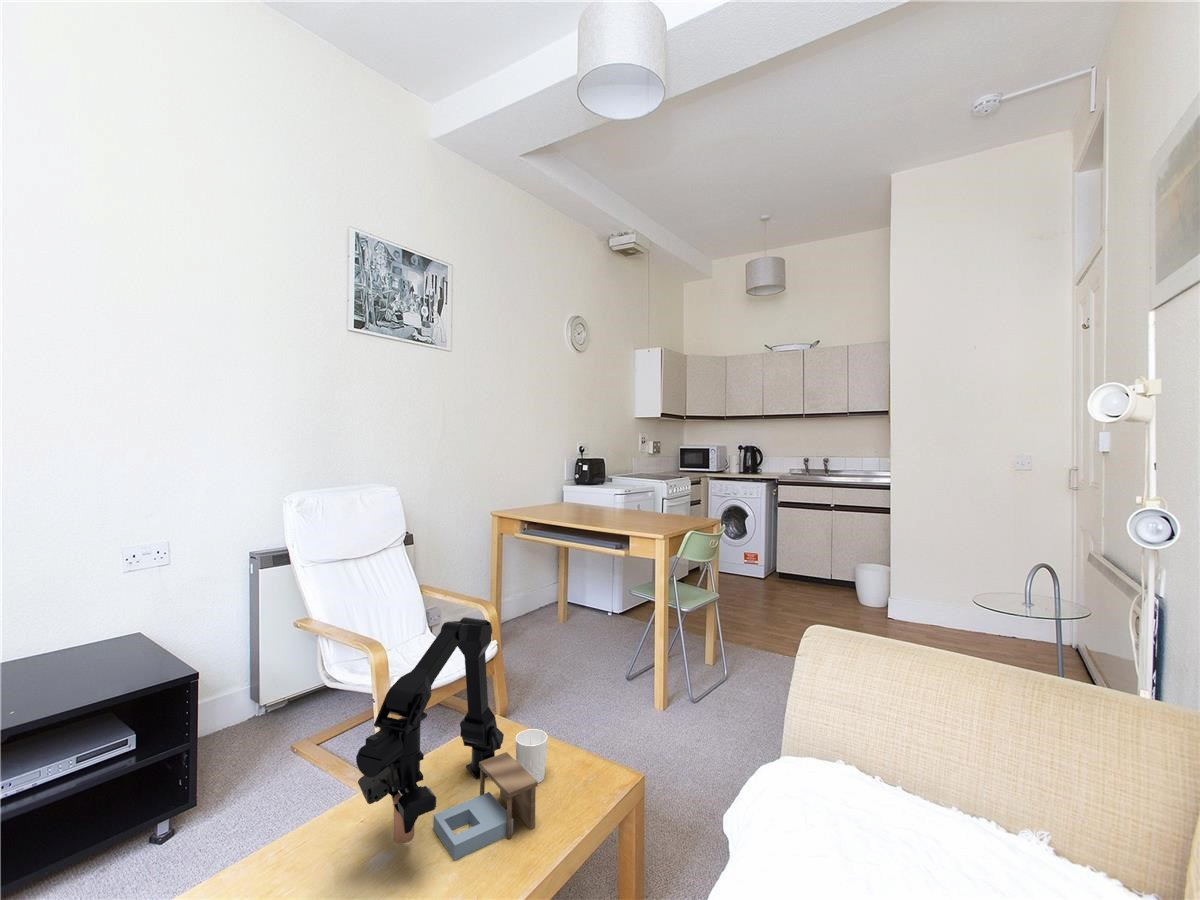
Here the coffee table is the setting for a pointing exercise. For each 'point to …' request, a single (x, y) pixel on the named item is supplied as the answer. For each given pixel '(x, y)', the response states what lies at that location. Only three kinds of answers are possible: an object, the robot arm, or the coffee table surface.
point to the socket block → (484, 822)
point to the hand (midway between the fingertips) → (404, 826)
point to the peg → (400, 826)
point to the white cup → (532, 752)
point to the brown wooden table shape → (511, 787)
